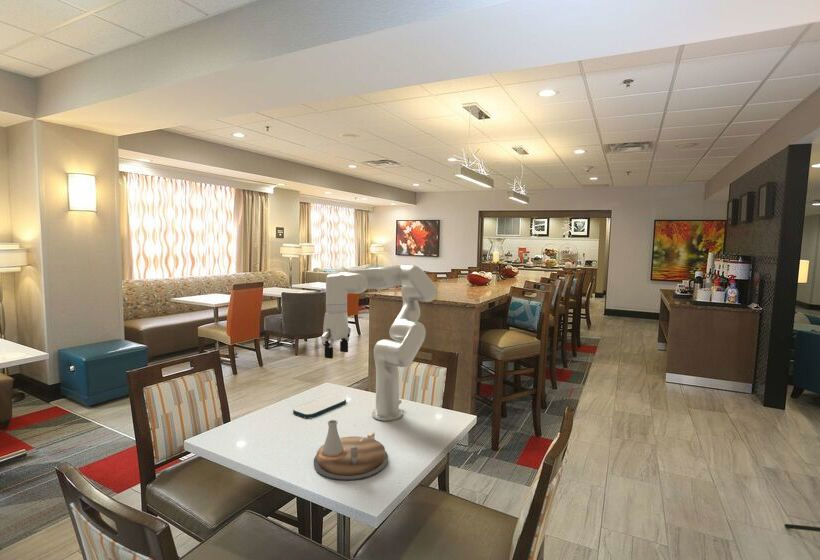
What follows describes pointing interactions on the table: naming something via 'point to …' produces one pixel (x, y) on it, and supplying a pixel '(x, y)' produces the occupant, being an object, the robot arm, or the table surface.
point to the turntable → (353, 456)
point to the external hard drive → (319, 406)
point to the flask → (332, 441)
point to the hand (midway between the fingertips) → (336, 354)
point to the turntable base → (352, 477)
